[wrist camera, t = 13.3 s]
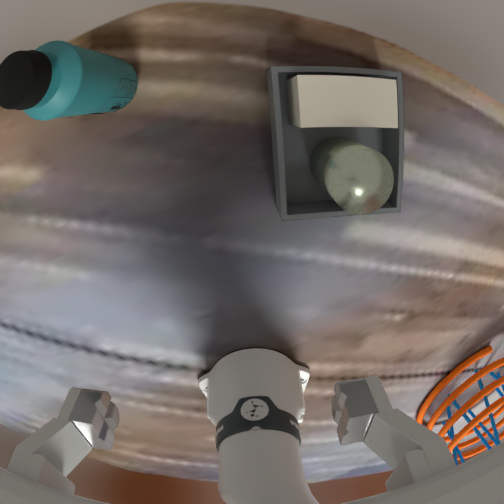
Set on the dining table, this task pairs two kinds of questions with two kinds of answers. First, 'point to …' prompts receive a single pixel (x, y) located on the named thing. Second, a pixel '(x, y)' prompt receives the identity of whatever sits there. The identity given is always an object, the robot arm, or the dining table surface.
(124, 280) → the dining table surface
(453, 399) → the orange spiral coil rods
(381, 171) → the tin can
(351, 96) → the cream rectangular block
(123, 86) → the beverage bottle
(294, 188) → the tote
